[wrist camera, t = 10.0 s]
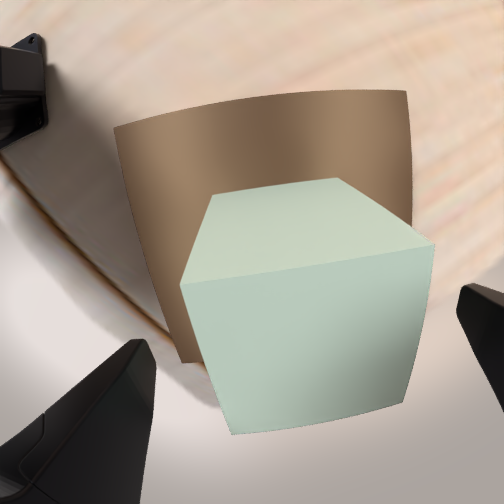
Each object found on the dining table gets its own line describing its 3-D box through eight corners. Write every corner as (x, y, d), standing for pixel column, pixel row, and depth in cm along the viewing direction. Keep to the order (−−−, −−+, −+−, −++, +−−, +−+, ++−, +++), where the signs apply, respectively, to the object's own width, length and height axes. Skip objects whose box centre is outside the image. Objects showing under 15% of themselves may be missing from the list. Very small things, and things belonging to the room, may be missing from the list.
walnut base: (191, 320, 19) (182, 363, 15) (143, 125, 14) (113, 127, 11) (375, 291, 19) (401, 328, 15) (370, 95, 14) (406, 90, 10)
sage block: (234, 302, 14) (231, 434, 7) (212, 194, 12) (179, 284, 5) (342, 285, 14) (402, 402, 7) (337, 177, 12) (434, 243, 5)
